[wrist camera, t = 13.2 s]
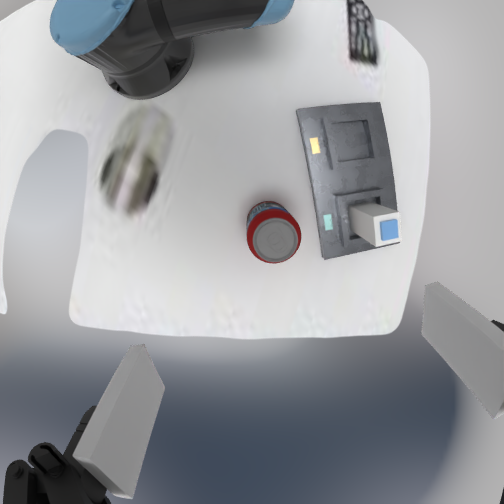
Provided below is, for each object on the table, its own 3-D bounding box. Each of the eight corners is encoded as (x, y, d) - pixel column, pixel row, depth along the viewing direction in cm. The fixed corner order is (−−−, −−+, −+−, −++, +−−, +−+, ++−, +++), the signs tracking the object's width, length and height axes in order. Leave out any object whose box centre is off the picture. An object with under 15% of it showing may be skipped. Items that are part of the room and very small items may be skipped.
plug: (347, 205, 44) (375, 217, 33) (370, 201, 43) (401, 212, 33) (350, 230, 45) (377, 248, 35) (372, 225, 45) (403, 242, 34)
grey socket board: (296, 111, 41) (300, 106, 37) (376, 103, 40) (385, 100, 37) (322, 256, 48) (327, 263, 44) (395, 240, 47) (405, 246, 44)
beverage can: (272, 191, 44) (281, 200, 33) (297, 225, 46) (314, 245, 34) (237, 218, 45) (234, 235, 34) (263, 250, 47) (269, 278, 36)
